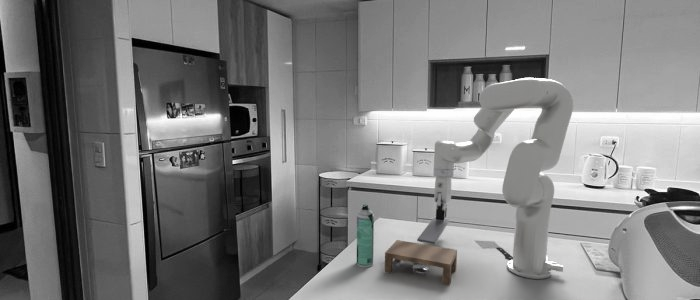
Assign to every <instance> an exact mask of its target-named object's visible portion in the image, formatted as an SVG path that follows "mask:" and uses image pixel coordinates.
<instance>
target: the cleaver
mask: <svg viewBox="0 0 700 300" xmlns="http://www.w3.org/2000/svg"><path fill="white" fill-rule="evenodd" d="M473 241H474V242H475V243H476V244H477V245H478V246H479V247H480V248H482V249H496V250H497V251H499V252H500V253H501V254H502V255H503V256H504V258H505V259H506V260H507V261H510V260H513V255H511V254H510V253H509V252H507V251H506V250H504V248H502V247H501V246H500V245H499V244H498V243H497V242H496V241H494V240H493V241H492V240H491V241H490V240H476V239H474V240H473Z"/></svg>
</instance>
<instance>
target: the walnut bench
mask: <svg viewBox="0 0 700 300" xmlns="http://www.w3.org/2000/svg"><path fill="white" fill-rule="evenodd" d="M457 256H458V249H454V248H448V247H443V246H442V247H441V246H436V245H432V244H431V245H430V244H423V243H420V242H419V243H417V242H412V241H406V240H399V239H397V240H395V242H393V243H392V244H391V246H390V247H389V248H388V249H387V250H386V251H385V252H384V273H386V274H389V275H390V274H392V273H393V271H394V261H396V262H402V261H403V262H409V263H415V264H418V265H424V266H428V267H430V266H431V267H435V268H441V269H442V285H444V286H450V285H451V281H452V272H456V271H457V262H458V261H457V259H458V257H457Z"/></svg>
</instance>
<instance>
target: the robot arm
mask: <svg viewBox="0 0 700 300" xmlns="http://www.w3.org/2000/svg"><path fill="white" fill-rule="evenodd" d="M478 101H479V104H480V106H481V108H480V109H479V111H478V112H477V113H476V114H475V116H474V117H473V123H474V125H475V126H476V128H478V129H477V131H476V132H475V134H474V135H473V136H472V137H471V139H469V141H461V142H454V141H451V140H447V139H446V140H443V139H442V140H436V142H435V143H434V151H433V152H434V153H433V156H434V157H433V171H432V172H433V175H432V176H433V177H435V182H434V193H433V194H434V195H433V196H434V197H433V198H434V203H436V207H435V208H436V210H435V218H436V219H437V220H444V216H445V219H446V217H447V212H448V211H447V210H448V209H447V208H448V207H447V205H448V203H449V202H450V201H451V199H452V178H454V170H455V169H454V167H455V164H464V163H469V162H475V161H477V160H478V159H479V158H481V157H482V156H483V155H484V154H485V153H486V152H487V150H488V149H489V148H490V147H491V145H492V143H493V141H494V138H495V133H496V132H497V130H498V129H499V128H500V126H501V125H502V124H503V123H504V122H505V121H506V119H507V118H508V117H510V115H511V114H512V113H513V111H514V110H516V109H517V110H518V109H529V108H530V109H531V108H536V109H537V108H539V109H541V113H540V114H539V116H538V118H537V120H536V121H535V125H534V129H533V133H532V136H531V138H530V140H529V139H528V140H523V141H521V142H519V143H518V144H517V145H515V147H514V148H512V151H511V153H510V155H509V159H508V163H507V166H506V170H505V175H504V178H503V181H502V190H501V191H502V197H503V199H504V201H505V202H506V203H507V204H508V205H509V206H511V207H513V208H515V209H516V211H515V217H514V218H515V219H514V235H513V236H514V237H513V249H512V251H513V252H512V257H513V260H508V261H507V263H506V264H507V265H506V267H507V269H508V271H510V272H512V273H513V274H514V275H517V276H519V277H522V278H527V279H533V280H534V279H535V280H542V279H547V278H549V277H551V275H552V271H556V272H561V273H563V272H564V265H561V264H559V263H558V262H557V261H556V262H555V261H550V260H548V255H547V254H548V240H549V227H550V215H551V209H552V204H553V201H554V197H555V185H554V183H553V181H552V178H550V177H549V176H548V175H547V174H545V173H543V171H549V170H551V169H553V168H555V166H557V164H559V161H560V157H561V153H562V149H563V145H564V142H565V139H566V135H567V131H568V127H569V125H570V121H571V117H572V115H573V111H574V100H573V96H572V94H571V92H570V90H569V89H568V88H567V87H566V86H565V85H564V84H562V83H561V82H559V81H556V80H553V79H548V78H538V77H537V78H536V77H535V78H534V77H524V78H518V79H515V80H509V81H503V82H497V83H492V84H491V83H490V84H488V85H487V86H485V88H483V89H482V91H481V92H480V95H479V100H478ZM444 203H445V204H446V211H445V210H444ZM441 204H442V205H441Z"/></svg>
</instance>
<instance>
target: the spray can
mask: <svg viewBox="0 0 700 300" xmlns="http://www.w3.org/2000/svg"><path fill="white" fill-rule="evenodd" d="M356 213H357V214H356V265H357V266H358V267H360V268H371V267H373V266H374V238H375V237H374V231H375V229H374V226H375V225H374V224H375V221H374V220H375V217H374V216H375V215H374V212H373V211H372V210H370V208H369V205H368V204H362V207H361V208H360V210H358V211H357V212H356Z"/></svg>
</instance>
